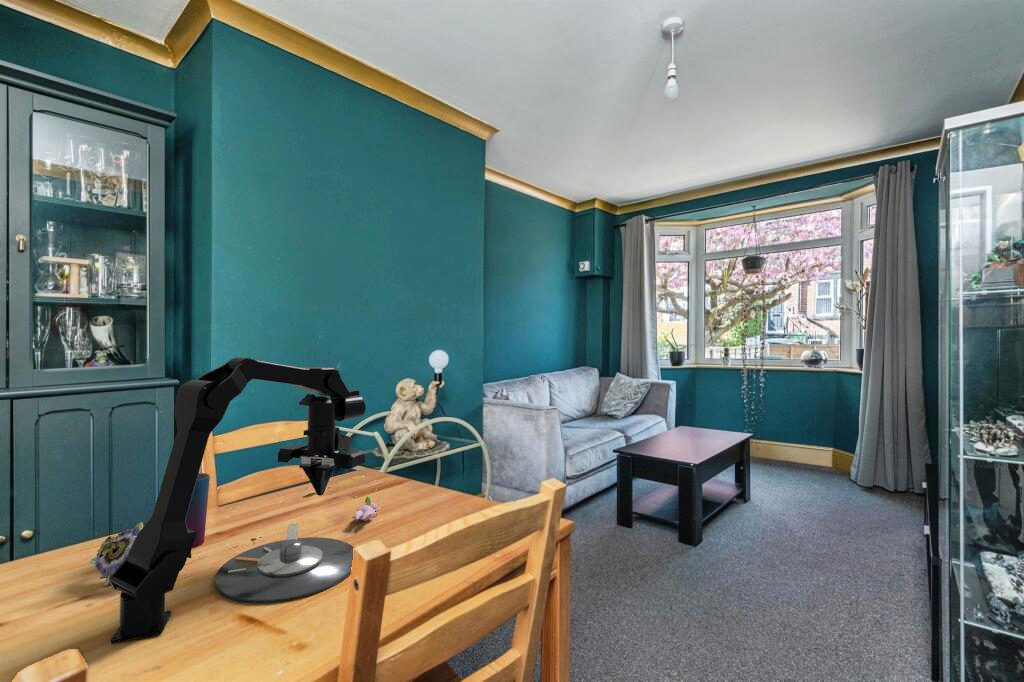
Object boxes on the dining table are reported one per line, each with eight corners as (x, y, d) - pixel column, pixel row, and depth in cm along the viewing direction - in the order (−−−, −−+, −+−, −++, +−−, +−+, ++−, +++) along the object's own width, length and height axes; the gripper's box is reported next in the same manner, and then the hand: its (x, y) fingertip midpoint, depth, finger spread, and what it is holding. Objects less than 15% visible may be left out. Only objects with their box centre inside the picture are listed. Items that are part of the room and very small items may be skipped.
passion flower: (109, 614, 91) (69, 562, 90) (160, 575, 102) (125, 529, 101) (146, 589, 88) (105, 535, 88) (194, 552, 99) (158, 504, 98)
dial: (323, 570, 96) (323, 550, 96) (254, 580, 91) (254, 560, 91) (321, 537, 111) (321, 520, 111) (262, 544, 107) (262, 527, 107)
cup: (191, 552, 105) (192, 482, 105) (164, 548, 107) (165, 480, 107) (216, 539, 112) (217, 474, 112) (190, 536, 113) (191, 471, 113)
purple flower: (360, 514, 133) (346, 526, 118) (361, 492, 134) (347, 501, 119) (383, 514, 134) (372, 526, 119) (384, 492, 134) (373, 501, 120)
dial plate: (363, 587, 92) (364, 581, 92) (202, 615, 82) (202, 608, 82) (352, 535, 116) (353, 530, 116) (227, 551, 106) (227, 546, 106)
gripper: (378, 421, 113) (377, 488, 113) (309, 416, 118) (308, 480, 118) (350, 429, 102) (349, 504, 102) (276, 423, 107) (275, 495, 107)
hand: (320, 495), depth 108 cm, fingers closed
